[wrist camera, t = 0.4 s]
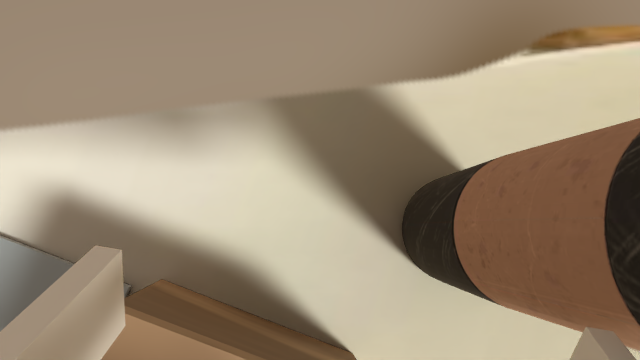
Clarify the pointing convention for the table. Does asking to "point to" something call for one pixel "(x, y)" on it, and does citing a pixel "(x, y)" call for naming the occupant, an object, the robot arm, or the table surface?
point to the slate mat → (27, 277)
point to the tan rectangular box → (206, 331)
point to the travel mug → (542, 231)
